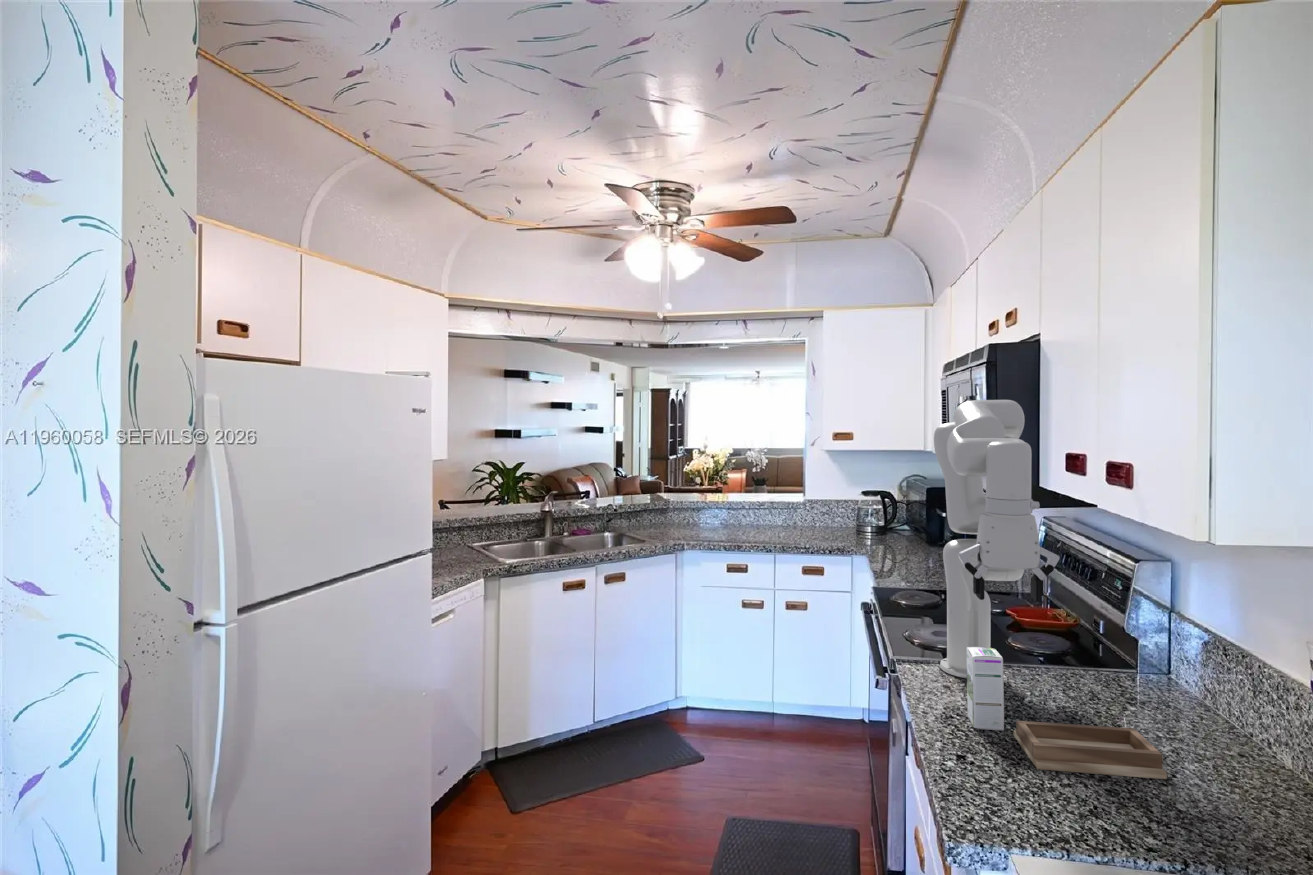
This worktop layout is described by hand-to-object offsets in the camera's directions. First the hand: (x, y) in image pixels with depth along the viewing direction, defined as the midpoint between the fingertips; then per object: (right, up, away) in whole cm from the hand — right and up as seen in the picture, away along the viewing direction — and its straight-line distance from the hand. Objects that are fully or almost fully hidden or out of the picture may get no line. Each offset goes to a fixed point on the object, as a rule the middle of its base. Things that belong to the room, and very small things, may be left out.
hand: (1007, 598), depth 130 cm
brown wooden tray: (+11, -27, -5) cm, 30 cm away
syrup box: (0, -27, +9) cm, 28 cm away
